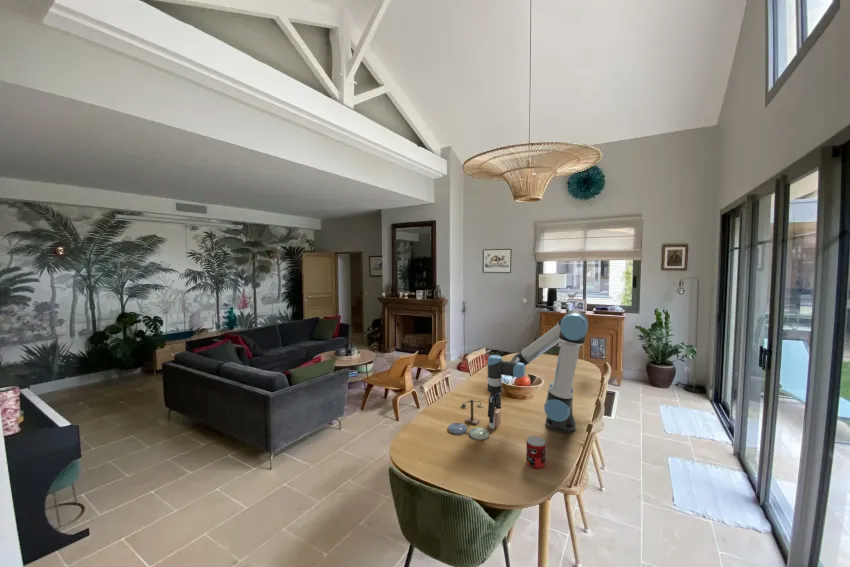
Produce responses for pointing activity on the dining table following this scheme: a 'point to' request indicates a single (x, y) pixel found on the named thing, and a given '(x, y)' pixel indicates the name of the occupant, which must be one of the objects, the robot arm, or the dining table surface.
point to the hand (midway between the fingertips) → (494, 423)
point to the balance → (471, 420)
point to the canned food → (535, 452)
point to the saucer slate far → (457, 428)
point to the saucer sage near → (479, 433)
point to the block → (497, 417)
